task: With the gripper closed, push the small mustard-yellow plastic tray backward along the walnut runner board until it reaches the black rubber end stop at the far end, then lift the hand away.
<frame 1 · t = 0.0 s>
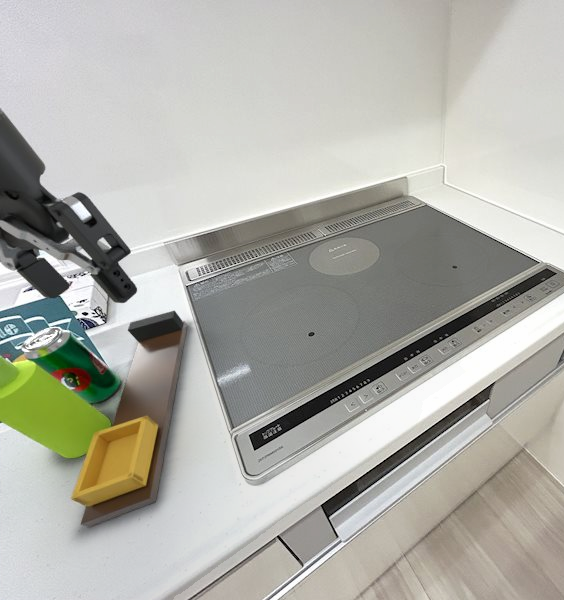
hand: (93, 295, 34), 21 cm above the worktop, tool pointing down, fingers open, 8 cm apart
soda can: (105, 391, 51), on the worktop
soap dispenser: (87, 434, 46), on the worktop
tray: (119, 458, 40), point 3 cm above the worktop, slide at 0.0 cm
end stop: (168, 325, 61), resting on runner board
runner board: (133, 467, 42), on the worktop
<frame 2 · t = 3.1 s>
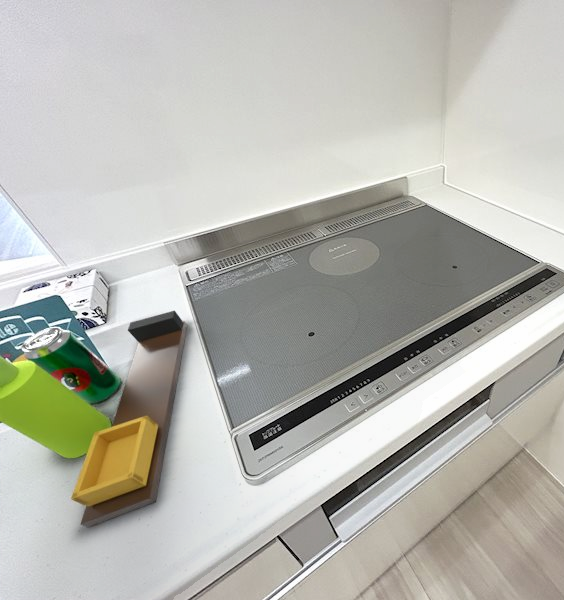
nothing on the worktop moved.
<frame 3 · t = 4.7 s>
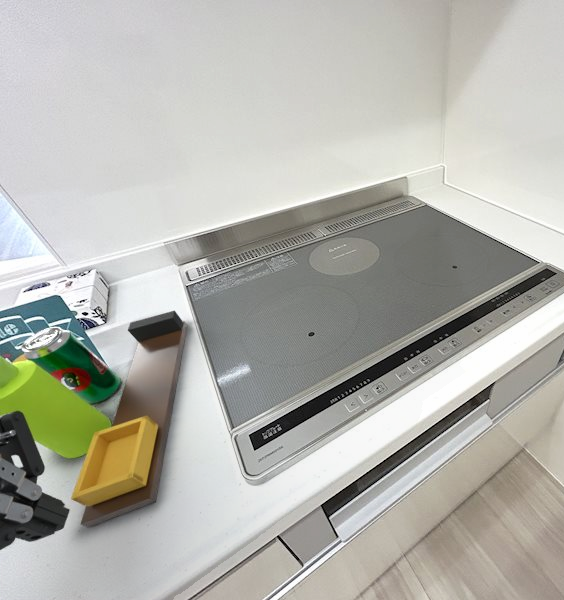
hand: (55, 524, 30), 8 cm above the worktop, tool pointing down, fingers closed
nothing on the worktop moved.
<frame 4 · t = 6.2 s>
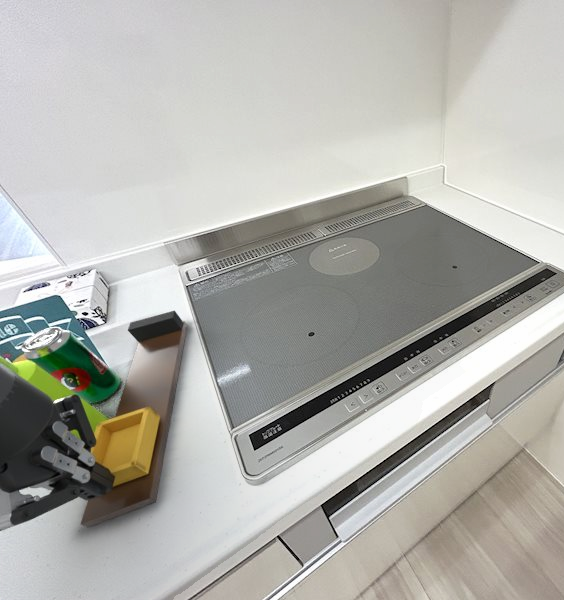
hand: (104, 488, 37), 4 cm above the worktop, tool pointing down, fingers closed
tray: (122, 447, 41), point 3 cm above the worktop, slide at 1.4 cm, touching gripper
everything else where it was.
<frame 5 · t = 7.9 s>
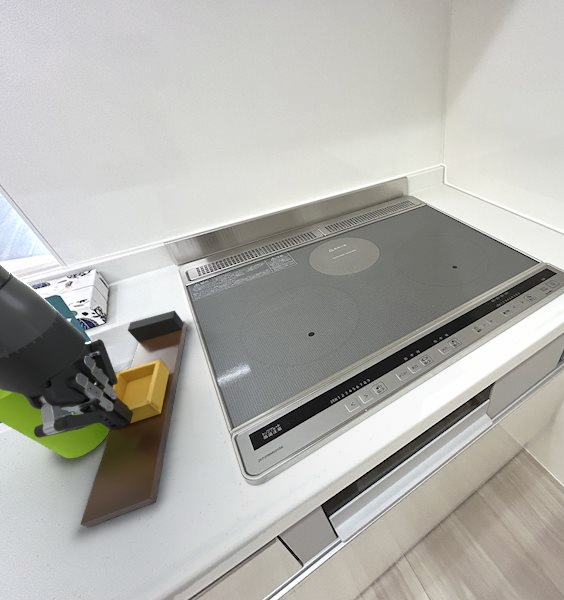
hand: (124, 421, 43), 4 cm above the worktop, tool pointing down, fingers closed
tray: (137, 392, 47), point 3 cm above the worktop, slide at 9.8 cm, touching gripper
everything else where it was.
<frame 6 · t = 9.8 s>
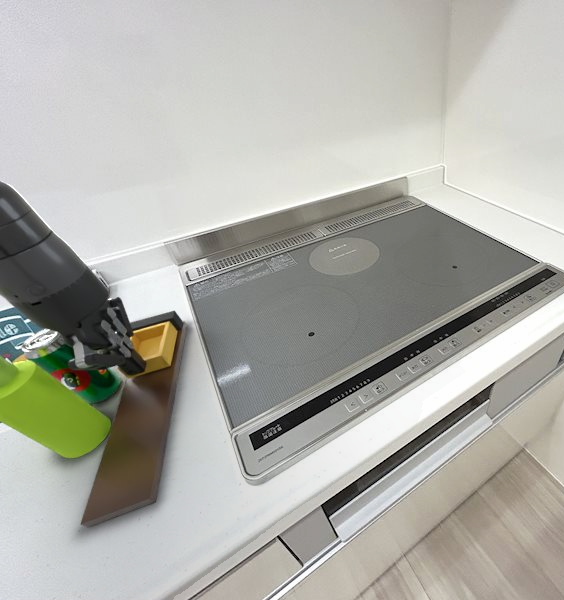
hand: (139, 370, 49), 4 cm above the worktop, tool pointing down, fingers closed
tray: (150, 348, 53), point 3 cm above the worktop, slide at 18.5 cm, touching gripper
everything else where it was.
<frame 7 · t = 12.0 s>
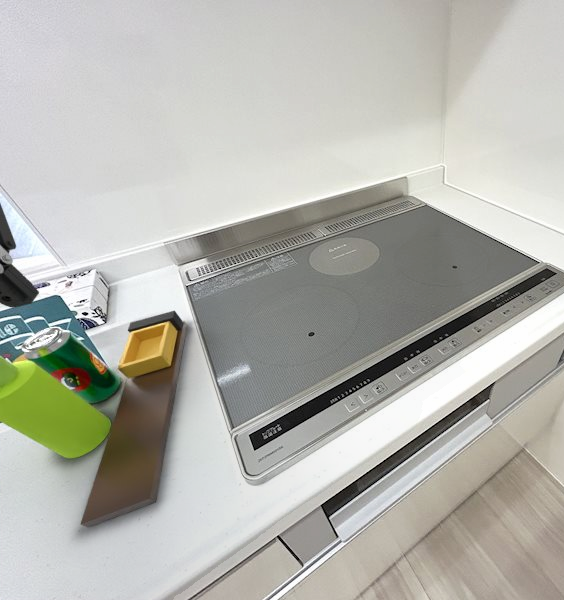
hand: (25, 301, 34), 21 cm above the worktop, tool pointing down, fingers closed
tray: (150, 348, 53), point 3 cm above the worktop, slide at 18.5 cm
everything else where it was.
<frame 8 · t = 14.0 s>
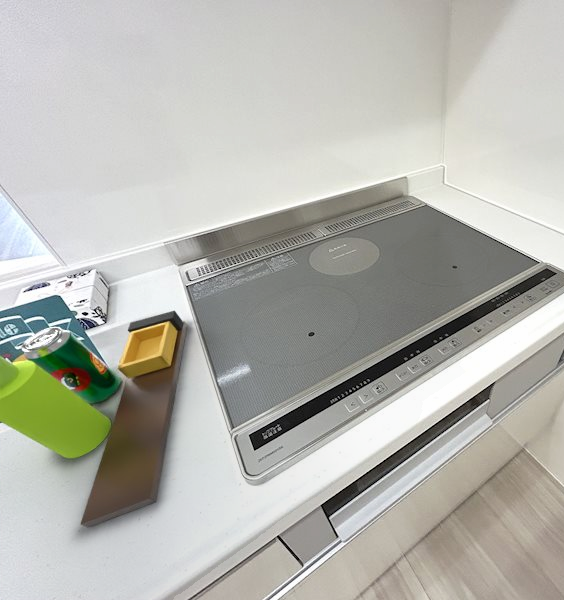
nothing on the worktop moved.
at the end: tray slide at 18.5 cm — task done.
